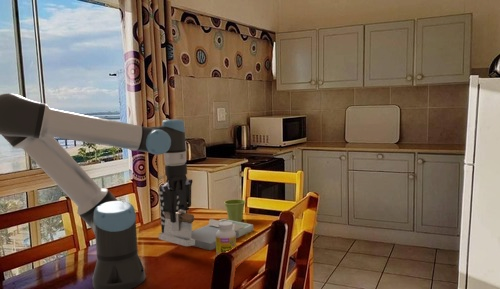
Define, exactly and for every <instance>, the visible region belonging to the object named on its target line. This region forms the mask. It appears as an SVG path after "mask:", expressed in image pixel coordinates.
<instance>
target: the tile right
mask: <svg viewBox="0 0 500 289" xmlns="http://www.w3.org/2000/svg"><path fill="white" fill-rule="evenodd" d="M232 224H233V223H232ZM241 228H244V226H241V225H237V224H233V227H232V229H233V230H234V231H237V230H239V229H241Z"/></svg>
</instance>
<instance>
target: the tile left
mask: <svg viewBox="0 0 500 289" xmlns="http://www.w3.org/2000/svg"><path fill="white" fill-rule="evenodd" d="M208 221H209V222H208V225H210V226H215V227H218V224H219V223H220V222H222V221H219V220H217V219H212V218H209V220H208Z"/></svg>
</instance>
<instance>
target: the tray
mask: <svg viewBox="0 0 500 289" xmlns="http://www.w3.org/2000/svg"><path fill="white" fill-rule="evenodd" d="M218 221H222V222H223V221H230V222H232V223H233V224H237V225H241V226H244V228H241V229H239V230H237V231H238V238H240V237H242V236H244V235H247V234H249V233H251V232H253V231H254V224H251V223H247V222H243V221H241V222H237V221H232V220H228V218H227V219H226V218H222V219H219V220H218Z"/></svg>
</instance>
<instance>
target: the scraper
mask: <svg viewBox="0 0 500 289" xmlns="http://www.w3.org/2000/svg"><path fill="white" fill-rule="evenodd" d="M176 213H178V219H179V231H178V232H176V231H172V222H171V221H170V213H167V212H165V213H164V216H165V225H164V233H162V232H160V233H159V235H158V240H161V241H164V242H165V241H166V242H169V243H173V244H175V245H176V244H177V245H179V246H183V247H191V246H192V245H195V239H192V238H191V235H192V231H193V222H194V221H195V215H194V214H192V213H188V212H187V213H182V212H177V211H176ZM192 247H193V246H192Z"/></svg>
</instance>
